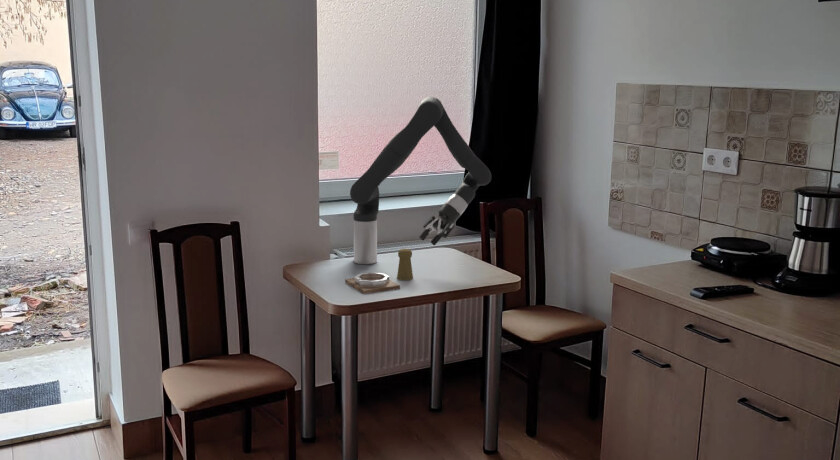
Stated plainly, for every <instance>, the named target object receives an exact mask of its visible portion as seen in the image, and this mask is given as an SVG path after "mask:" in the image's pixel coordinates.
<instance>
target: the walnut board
mask: <svg viewBox="0 0 840 460" xmlns="http://www.w3.org/2000/svg"><path fill="white" fill-rule="evenodd" d="M344 280H345V281H344V282H345V283H346V284H347V285H349V286H350V287H353V288H354V289H355V290H357V291H359V292H360V293H361V294H364V295H365V294H372V293H378V292H384V291H385V292H386V291H390V290H391V291H393V290H398V289H400V288H401V286H400V284H399V283H396V282H395V281H393V280H392V279H389V282H388V283H387V284H386V285H384V286H377V287H367V286H360V285H358V284H356V283H355V277H351V278H345V279H344ZM364 280H372V281H374V280H381V279H373V278H371V279H364Z"/></svg>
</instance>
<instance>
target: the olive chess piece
mask: <svg viewBox="0 0 840 460" xmlns="http://www.w3.org/2000/svg"><path fill="white" fill-rule="evenodd" d="M397 256H398V257H399V261H398V267H397V274H396V275H397V276H396V279H397V280H399V281H411V280H414V276H413V275H414V274H413V266H412V256H413V251H412V250H411V249H409V248H401V249H398V253H397Z"/></svg>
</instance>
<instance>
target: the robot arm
mask: <svg viewBox="0 0 840 460" xmlns="http://www.w3.org/2000/svg"><path fill="white" fill-rule="evenodd" d="M434 127H435V129H436V130H437V131H438V133H439V135H440V136H441V138H442V139H443V141H444V143H445V146H446V147H447V150H448V151H449V153H450V155H451V156H452V157H453V158H454V159H455V161H456V162H457V163H458V165H459V166H460V167H461V168H463V169H466V170H467V172H468V173H466V175H465V177H464V179H463V180H462V182H461V184H460V186H459V187H457V189H456V190H455V192H454V193H452V195H450V197H449V198H448V199H447V200H446V201H445V202H444V203H443V205H442V206H441V207H440V208H439V210H438V211H437V212H438V216H437V217H436V216H435V215H432V216H431V217H430V218H429V219H428V220H427V221H426V222H425V223H424V224H423V229H424V230H423V231H422V233H421V234H420V235H419V240H421V241H425V240H426V239H427V237H428V236H429V234H430V233H432V232H436V231H437V233H436V234H435V235H434V236H433V237H432V239H431V240H430V244H431V245H432V246H436V245H437V244H438V242H439V241H440V240H441V239H443V238H444V239H446V238H447V237H449V235H450V233H451V232H452V231H453V230H454V227H455V225H454V224H455V223H456V222H457V220H458V219H459V218H460V217H461V216H462V214H463V213H464V212H465V211H466V209H467V208H468V206H469V205H470V204H471V203H472V201H473V200H474V199H475V197H476V191H477V190H478V189H479V187H480V186H487V185H488V184H489V183H490V182H491V181H492V173H491V171H490V169H489V167H488V166H487V165H486V164H485V163H484V162H483V161H482V160H481V159H480V158H479V157H478V156H477V155H476V154H475V153H474V151H473V150H472V149H471V147H470V146H469V145H468V143H467V142H466V141H465V139H464V138H463V136H462V135H461V134H460V133H459V131H458V130H457V128H456V127H455V125H454V123H453V122H452V120H451V119H450V117H449V115H448V113H447V111H446V109H445V107H444V105H443V103H442V102H441V99H439V98H437V97H435V96H427V97H425V98H424V99H422V100H421V102H420V104H419V105H418V107H417V109H416V111H415V113H414V114H413V116H412V118H411V119H410V120H409V122H408V123H407V124H406V126H405V127H404V128H403V129H401V130H400V131H399V132H397V133H396V135H394V136H393V137H392V138H391V140H389V142H388V143H387V144H386V145H385V146H384V148H383V149H382V151H380V153H379V154H378V155H377V157H376V158H375V159H374V161H373V162H372V164H371V165H370V166H369V167H368V168H367V170H366V171H365V172H364V173H363V174H362V175H361V176H360V177H359V178H358V179H357V180H356V181H355V182H354V183H353V184H352V186H351V187H350V191H349V195H350V200H352V202H354V203H355V204H357V206H356V209H355V210H354V213H353V262H354V263H355V264H359V265H372V264H375V263H377V262H378V214H379V211H380V210H379V208H380V207H379V206H380V188H379V186H380V185H381V184H382V182H384V181H385V180H386V179H387V178H388V177H390V176H392V174H393V173H394V172H396V171H397V170H398V169H399V168H400V167H401V166H402V165H403V164H404V163H405V161H406V160H407V159H408V158H409V157H410V155H411V154H412V153H413V151H414V150H415V149H416V147H417V146H418V144H419V142H420V141H421V139H422V138H423V137H424V136H425V135H426V134H427V133H428V132H430V130H432V128H434Z"/></svg>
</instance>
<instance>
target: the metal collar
mask: <svg viewBox="0 0 840 460" xmlns="http://www.w3.org/2000/svg"><path fill="white" fill-rule="evenodd" d="M354 278H355V283H356V284H358V285H360V286H367V287H377V286H384V285H386V284H387V283H388V282H389V280H390V275H387V274H386V273H384V272H373V271H370V272H364V273H358V274H357V275H356V276H355V277H354ZM371 278H373V279H381V280H374V281H372V280H364V279H371Z"/></svg>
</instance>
